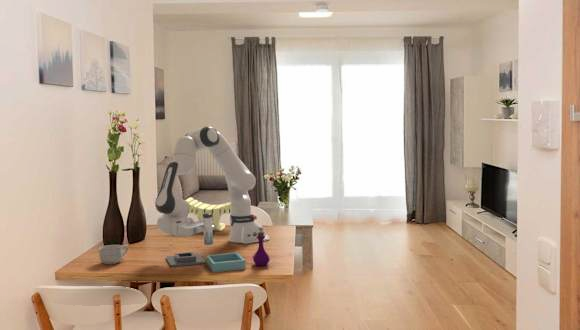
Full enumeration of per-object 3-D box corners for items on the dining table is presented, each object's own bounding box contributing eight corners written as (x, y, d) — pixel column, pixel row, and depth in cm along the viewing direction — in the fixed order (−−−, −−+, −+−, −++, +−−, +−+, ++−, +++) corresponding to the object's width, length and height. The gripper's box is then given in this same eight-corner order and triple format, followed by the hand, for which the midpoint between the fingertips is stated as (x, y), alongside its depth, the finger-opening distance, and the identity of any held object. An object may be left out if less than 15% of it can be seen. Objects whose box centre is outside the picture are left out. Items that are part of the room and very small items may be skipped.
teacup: (101, 267, 274) (100, 250, 273) (97, 261, 283) (96, 245, 282) (131, 263, 280) (131, 246, 279) (126, 258, 290) (126, 242, 289)
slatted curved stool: (183, 231, 348) (183, 201, 347) (191, 225, 364) (190, 197, 362) (233, 232, 345) (233, 201, 343) (239, 226, 361) (238, 197, 359)
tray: (237, 260, 282) (237, 252, 282) (245, 268, 268) (245, 260, 268) (206, 263, 278) (206, 255, 277) (213, 272, 263) (212, 263, 263)
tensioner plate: (198, 255, 293) (198, 249, 293) (205, 263, 278) (204, 257, 278) (166, 258, 288) (165, 252, 287) (170, 267, 273) (170, 260, 272)
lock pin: (212, 242, 277) (211, 212, 275) (214, 244, 273) (213, 214, 271) (203, 243, 275) (201, 213, 274) (204, 245, 271) (203, 215, 270)
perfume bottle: (253, 263, 278) (252, 225, 276) (269, 262, 278) (268, 225, 277) (253, 267, 270) (252, 228, 268) (269, 267, 271) (269, 228, 269)
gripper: (200, 229, 289) (223, 231, 282) (172, 237, 271) (196, 240, 265) (199, 216, 288) (222, 218, 282) (171, 223, 271) (195, 226, 264)
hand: (209, 229), depth 273 cm, fingers closed on lock pin, 4 cm apart
